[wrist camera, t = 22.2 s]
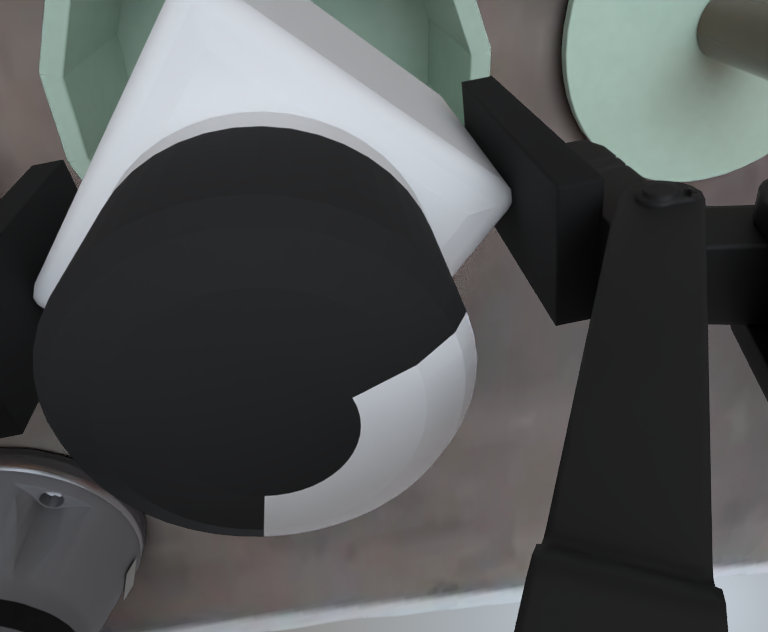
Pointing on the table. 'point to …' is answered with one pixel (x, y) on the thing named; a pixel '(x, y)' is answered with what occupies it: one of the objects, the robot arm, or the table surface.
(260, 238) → the medicine bottle
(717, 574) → the table surface
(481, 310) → the table surface
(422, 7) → the basin
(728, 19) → the basin lid
